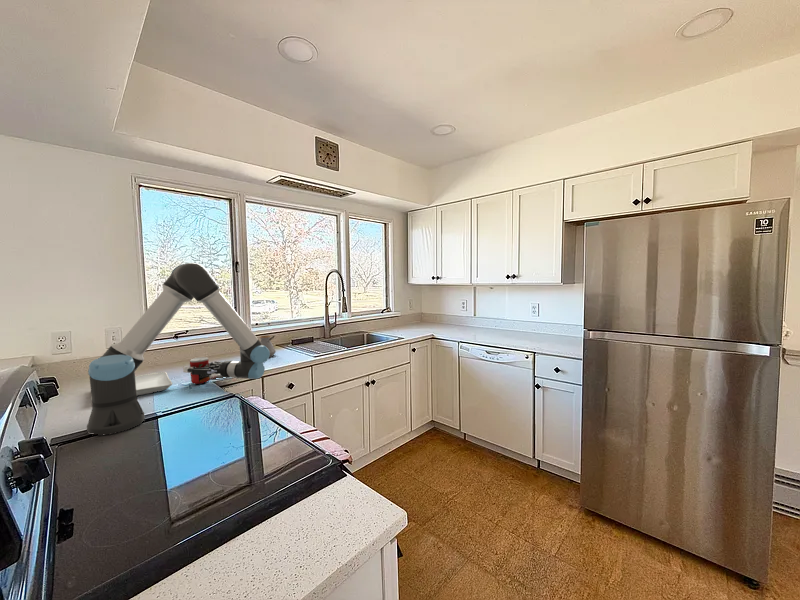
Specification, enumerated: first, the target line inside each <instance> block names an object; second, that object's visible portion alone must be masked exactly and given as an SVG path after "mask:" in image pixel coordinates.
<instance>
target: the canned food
mask: <svg viewBox="0 0 800 600" xmlns="http://www.w3.org/2000/svg"><path fill="white" fill-rule="evenodd" d="M209 362H210V361H209V357H207V356H205V357H204V356H202V357H195V358H191V359H190V360H189V367H194V366H195V367H196V368H200V367H209ZM210 380H211V379H210V376H209V375H192V373H190V382H191V383H192V384H194V385H198V384H199V385H200V384H204V382H205V383H207V381H208V382H209V381H210Z"/></svg>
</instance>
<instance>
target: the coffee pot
mask: <svg viewBox="0 0 800 600" xmlns="http://www.w3.org/2000/svg"><path fill="white" fill-rule="evenodd" d="M276 338H277V336H275V335H273V336H271V335H260V336H259V340H260V342H261V343H262V344H263V345H264V346H266V347H267V348H268V349H269V351H270V356H269V358H271V357H273V356H274V355H275V354H276V351H277V350H276V349H275V346H274V345H273V343H272V341H271V340H275V339H276Z"/></svg>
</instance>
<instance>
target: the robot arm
mask: <svg viewBox="0 0 800 600" xmlns="http://www.w3.org/2000/svg"><path fill="white" fill-rule="evenodd" d="M161 285H162V286H161V287H162V291H161V293H160V294H159V295H158V296H157V298H156V299H155V300H154V301H153V302H152V303H151V305H150V306H149V307H148V308H147V310H145V312H144V313H143V314H142V315H141V317H140V318H139V319H138V320H137V322H135V324H134V325H133V326H132V327H131V328H130V330H129V331H128V332H127V333H126V334H125V336H123V338H122V339H121V341H120V342H118V343H114V344H113V343H112V344H111V345H110V346H109V348H108V349H107V350H106V351H105V352H104V353H103V354H102V355H101V356H100V357H98V358H95V359H94V360H92V361H91V362H90V363H89V365H88V371H87V372H88V373H87V374H88V376H89V384H90V396H91V397H90V399H91V398H92V401H91V407H92V409H91V412H90V416H89V419H88V422H87V424H86V432H87V431H88V432H90V433H94V434H98V435H101V436H104V435H103V434H109V435H111V434H110V433H114V434H116V433H115V432H118V433H121V432H120V431H122V432H125V431H128V430H131V429H133V428H132V427H134V428H135V426H136V427H138V426H140V425H142V422H143V421H144V422H145V420H146V418H145V417H146V415H145V412H144V410H143V408H142V407H141V404H140V403H139V401H138V397H137V395H136V382H135V376H136V371H137V370H138V368H140V366H141V365H142V364H143V362H144V361H145V357H144V354H145V353H146V351H147V350H148V348H149V347H150V346H151V345H152V344H153V342H154V341H155V340H156V339H157V337H158V336H159V335H160V334H161V333H162V331H163V330H164V329H165V328H166V326H167V325H168V324H169V323H170V322H171V321H172V319H173V318H174V316H175V315H176V314H177V312H179V310H180V309H181V308H182V306H183V305H184V304H185V303H189V302H192V300H193V299H194V300H196V302H197V303H201V304H203V305H204V307H205V308H206V310H207V311H208V312H210V314H211V315H212V316H213V317H214V318H215V319H216V321H217V322H218V323H219V324H220V325H221V326H222V328H223V329H224V330H225V332H227V334H228V335H229V336H230V337H231V338H232V339H233V341H234V342H235V343H236V344H237V345H238V346H239V357H240V359H239V360H224V361H217V360H216V361H214V362H213V361H211V362H210V361H209V367H200V368H196V367H195V366H194V367H190V366H183V367H182V369H183V373H186V374H191V373H192V375H212V374H214V373H215V374H219V373H220V375H221V376H222V377H228V378H236V379H250V380H255V379H257V380H258V379H260V378H262V377H263V375H264V374H265V370H266V369H265V366H264V363H265V362H267V361H268V360H269V358H270V357H269V356H270V351H269V349H268V348H267V347H266V346H264V345H263V344H262V343H261V340H260V338H258V337H257V336H256V334H255V333H254V331H253V330H252V329H251V328H250V327H249V325H248V324H247V323H246V322H245V321H244V320H243V318H242V317H241V316H240V315H239V313H238V312H237V311H236V310H235V308H234V307H233V306H232V304H231V303H230V302H229V301H228V300H227V298H225V296H224V295H223V293H222V292H221V286H219V284H218V283H217V281H216V280H215V279H214V277H213V276H212V275H211V273H210V272H209V270H208V269H207V268H206V266H203V265H202V264H199V263H196V262H187V263H183V264H179V265H177V266H176V267H175V268H174V269H173V270H172V271H171V273H170V275H169V276H168V278H167V279H166V280H165V281H164V282H163V283H162V284H161ZM144 419H145V420H144ZM144 422H143V423H144ZM139 424H140V425H139ZM137 425H138V426H137ZM130 428H131V429H130ZM127 429H128V430H127ZM124 430H125V431H124Z"/></svg>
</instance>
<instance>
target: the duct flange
mask: <svg viewBox="0 0 800 600" xmlns="http://www.w3.org/2000/svg"><path fill="white" fill-rule="evenodd" d="M209 376H210V379H209V380H217V379H216V378H223V377H222V376H221V375H220V373H219V374H215V373H214V374H212V375H209Z"/></svg>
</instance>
